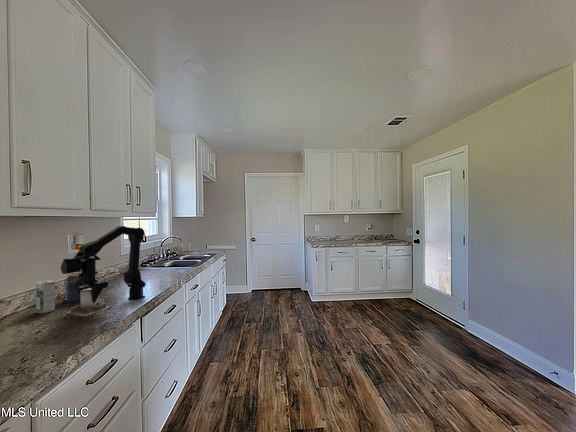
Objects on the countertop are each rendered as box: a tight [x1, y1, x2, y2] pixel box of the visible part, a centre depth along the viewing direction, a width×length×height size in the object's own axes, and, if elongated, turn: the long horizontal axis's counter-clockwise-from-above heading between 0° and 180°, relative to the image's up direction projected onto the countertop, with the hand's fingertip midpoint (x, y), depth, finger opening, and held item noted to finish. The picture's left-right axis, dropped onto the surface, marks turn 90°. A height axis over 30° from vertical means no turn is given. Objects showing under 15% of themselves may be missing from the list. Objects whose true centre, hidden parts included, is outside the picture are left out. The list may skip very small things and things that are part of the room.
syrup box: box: [35, 280, 56, 314], centre depth 136 cm, size 6×6×14 cm
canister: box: [64, 270, 91, 303], centre depth 156 cm, size 13×13×18 cm
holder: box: [64, 301, 112, 318], centre depth 136 cm, size 13×13×3 cm
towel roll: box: [80, 288, 98, 309], centre depth 136 cm, size 6×6×8 cm
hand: (88, 302), depth 136 cm, fingers closed on towel roll, 6 cm apart
